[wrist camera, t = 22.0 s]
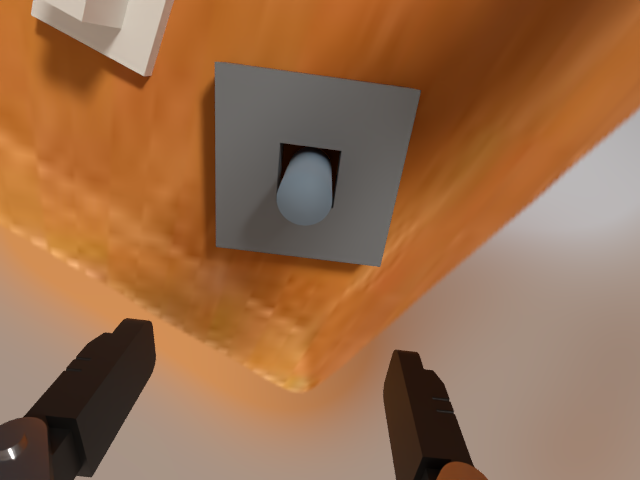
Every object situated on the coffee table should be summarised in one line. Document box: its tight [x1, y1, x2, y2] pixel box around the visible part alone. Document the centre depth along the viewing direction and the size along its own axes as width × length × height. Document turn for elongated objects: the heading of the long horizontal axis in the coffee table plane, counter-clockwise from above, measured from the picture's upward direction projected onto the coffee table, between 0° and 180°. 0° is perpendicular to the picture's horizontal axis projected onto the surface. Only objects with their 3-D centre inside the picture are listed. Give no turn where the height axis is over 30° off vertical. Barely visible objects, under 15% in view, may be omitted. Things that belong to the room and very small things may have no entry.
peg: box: [277, 146, 332, 226], centre depth 29 cm, size 4×4×9 cm
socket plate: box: [215, 62, 421, 267], centre depth 32 cm, size 16×16×3 cm
